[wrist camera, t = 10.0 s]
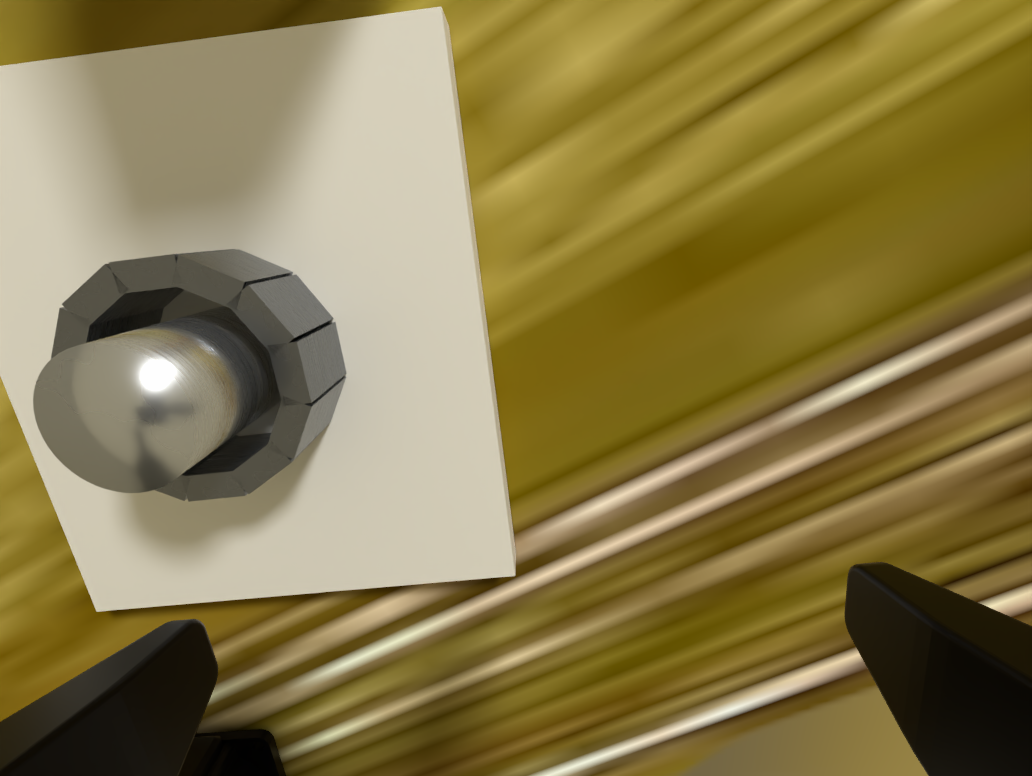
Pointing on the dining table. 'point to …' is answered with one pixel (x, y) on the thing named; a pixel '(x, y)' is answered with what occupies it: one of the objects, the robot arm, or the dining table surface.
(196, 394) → the steel pin
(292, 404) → the gunmetal ring
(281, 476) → the base plate
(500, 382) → the dining table surface
